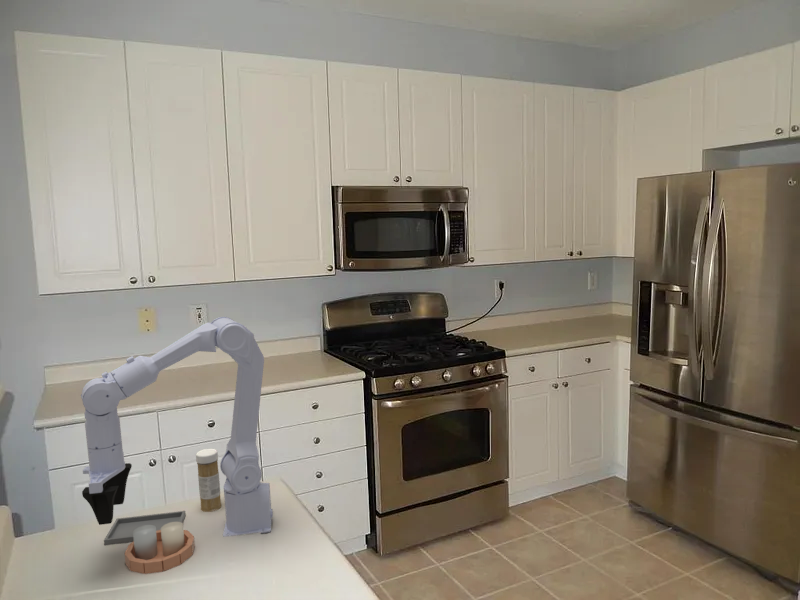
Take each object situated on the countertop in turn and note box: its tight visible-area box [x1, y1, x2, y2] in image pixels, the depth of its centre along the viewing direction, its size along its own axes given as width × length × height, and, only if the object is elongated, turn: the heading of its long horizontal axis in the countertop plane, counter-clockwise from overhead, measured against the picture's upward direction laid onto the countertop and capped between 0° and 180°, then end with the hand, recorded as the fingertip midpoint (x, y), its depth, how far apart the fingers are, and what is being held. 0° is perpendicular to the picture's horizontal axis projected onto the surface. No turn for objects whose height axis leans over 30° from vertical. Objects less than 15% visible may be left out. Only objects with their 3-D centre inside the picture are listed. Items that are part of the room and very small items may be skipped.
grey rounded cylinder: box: [133, 525, 158, 560], centre depth 112 cm, size 4×4×5 cm
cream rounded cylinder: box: [161, 522, 185, 557], centre depth 113 cm, size 4×4×5 cm
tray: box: [103, 510, 187, 546], centre depth 123 cm, size 14×9×2 cm, turn 101°
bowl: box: [124, 529, 196, 575], centre depth 113 cm, size 12×12×2 cm
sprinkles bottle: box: [195, 448, 223, 513], centre depth 131 cm, size 5×5×14 cm
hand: (111, 513), depth 110 cm, fingers open, 7 cm apart
